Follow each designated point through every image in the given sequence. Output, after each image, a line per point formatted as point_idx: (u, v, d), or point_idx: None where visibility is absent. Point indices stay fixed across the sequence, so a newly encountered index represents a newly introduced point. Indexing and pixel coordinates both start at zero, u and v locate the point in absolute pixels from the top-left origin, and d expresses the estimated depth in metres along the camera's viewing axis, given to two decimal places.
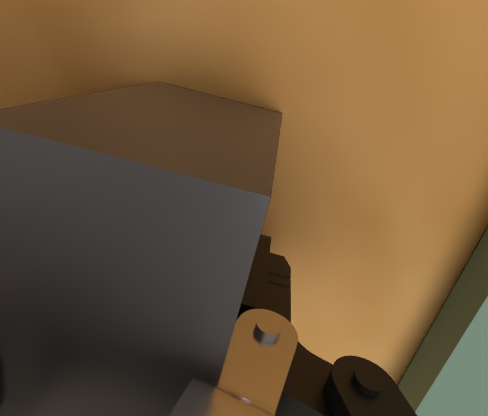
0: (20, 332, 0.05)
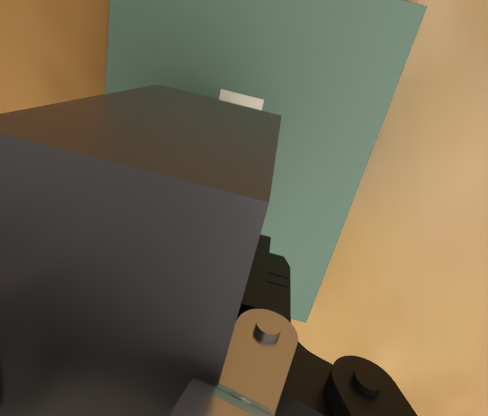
0: (20, 336, 0.05)
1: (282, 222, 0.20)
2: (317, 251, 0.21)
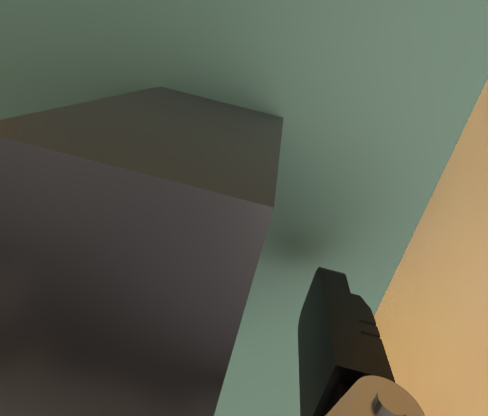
0: (24, 339, 0.06)
1: (278, 312, 0.13)
2: None
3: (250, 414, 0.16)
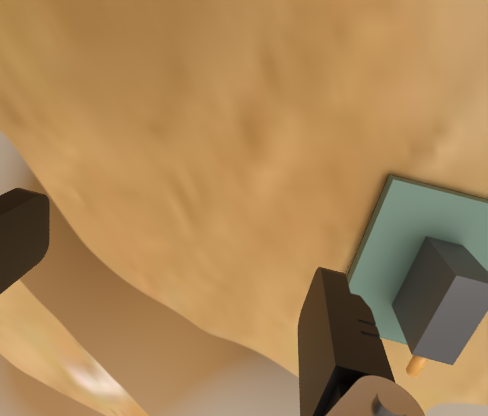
0: (446, 307, 0.30)
1: None
2: None
3: None
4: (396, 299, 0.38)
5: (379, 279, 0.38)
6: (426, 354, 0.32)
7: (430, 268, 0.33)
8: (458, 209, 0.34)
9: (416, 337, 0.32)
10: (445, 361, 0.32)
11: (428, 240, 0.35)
